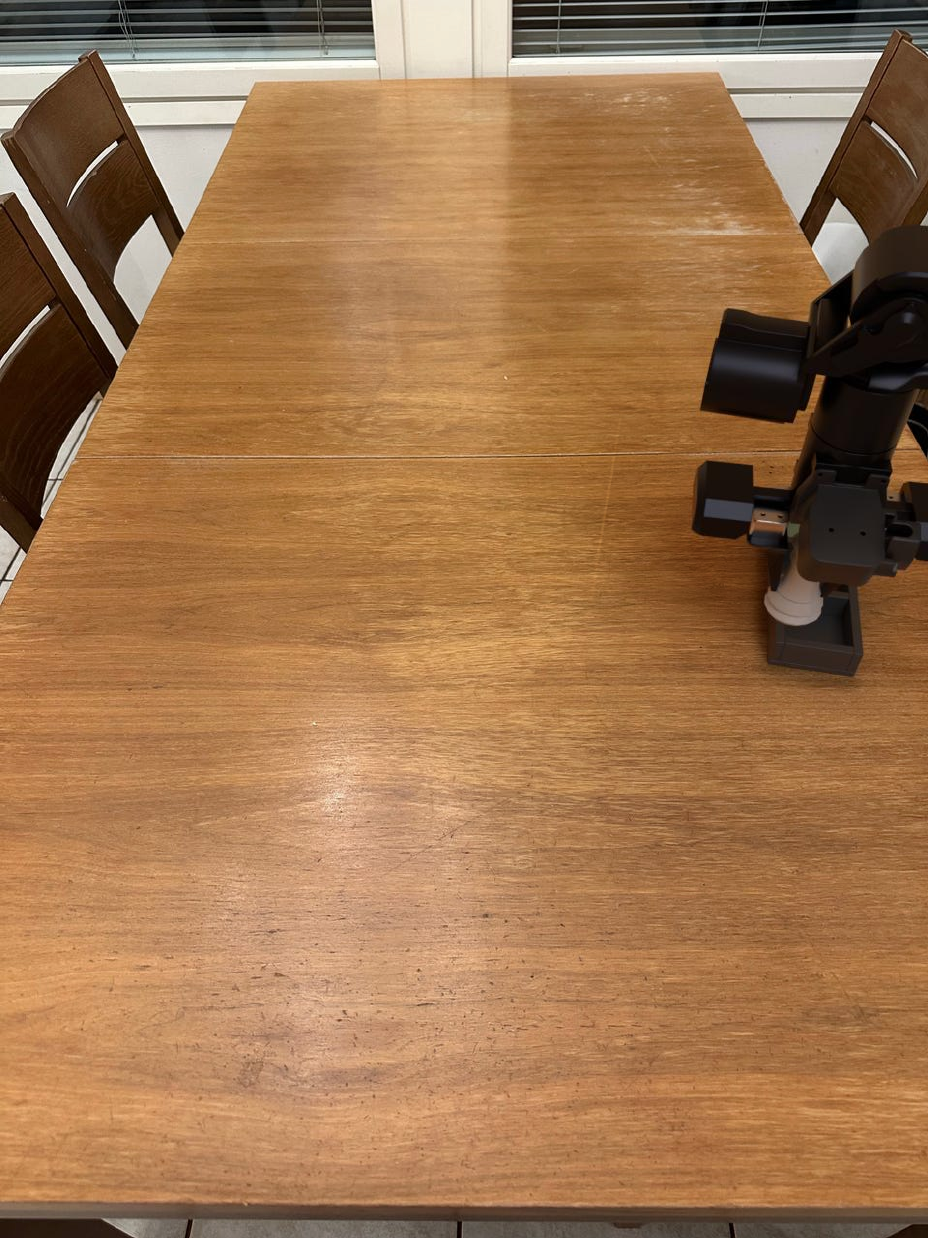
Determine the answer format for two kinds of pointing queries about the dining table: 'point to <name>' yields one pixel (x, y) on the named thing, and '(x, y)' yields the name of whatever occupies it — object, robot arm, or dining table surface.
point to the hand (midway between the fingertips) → (797, 590)
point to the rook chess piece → (794, 595)
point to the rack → (819, 632)
